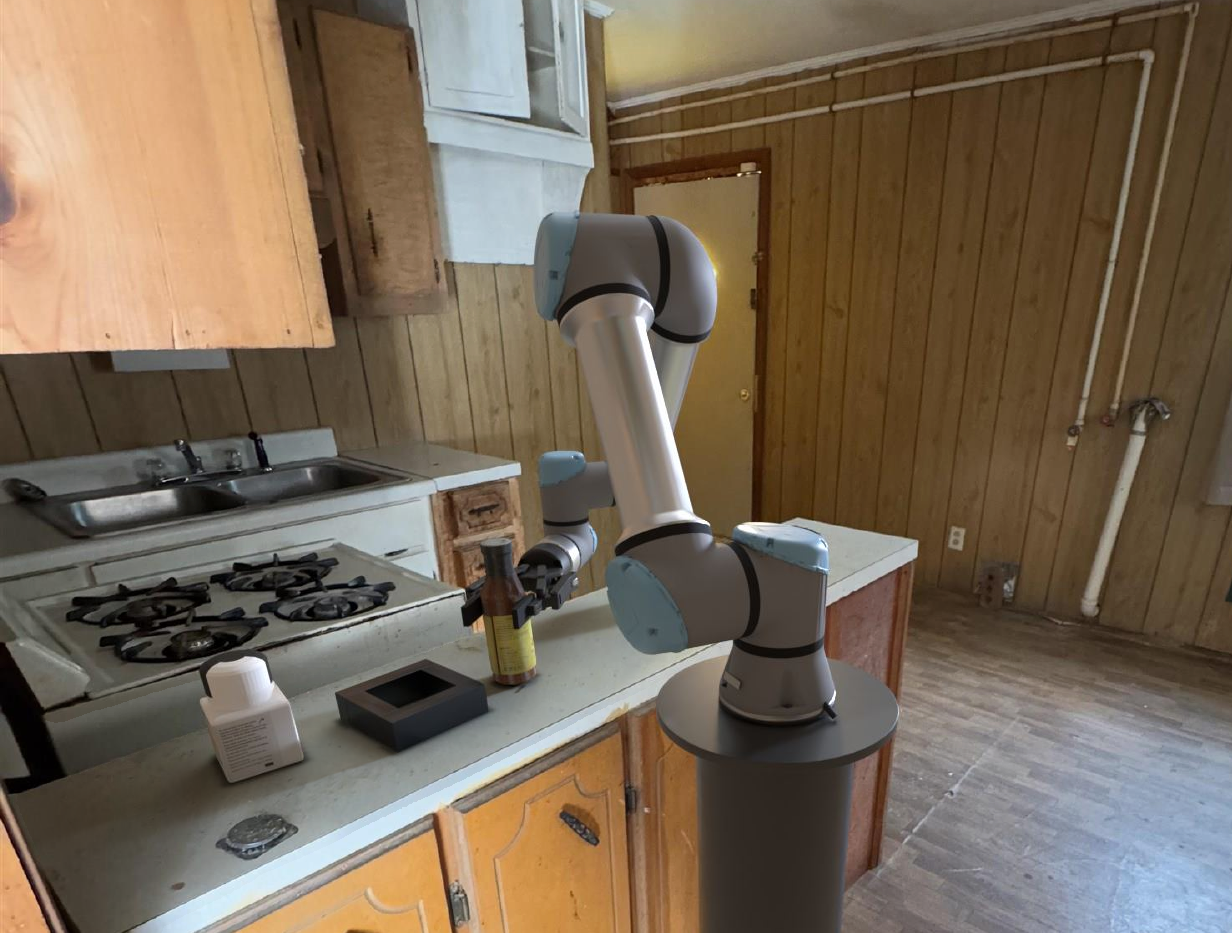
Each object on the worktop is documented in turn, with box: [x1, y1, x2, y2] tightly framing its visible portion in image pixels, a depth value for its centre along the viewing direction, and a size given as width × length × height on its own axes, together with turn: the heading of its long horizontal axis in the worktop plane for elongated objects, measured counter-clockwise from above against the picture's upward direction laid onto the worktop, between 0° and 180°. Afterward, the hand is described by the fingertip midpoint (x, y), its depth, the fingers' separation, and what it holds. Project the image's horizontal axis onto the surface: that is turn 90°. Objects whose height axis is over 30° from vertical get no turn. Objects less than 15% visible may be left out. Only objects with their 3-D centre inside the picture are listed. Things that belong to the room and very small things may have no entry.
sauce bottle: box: [479, 537, 537, 686], centre depth 106 cm, size 6×6×20 cm
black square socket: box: [334, 658, 489, 753], centre depth 99 cm, size 13×13×4 cm
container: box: [198, 649, 305, 784], centre depth 88 cm, size 8×8×13 cm
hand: (490, 618), depth 101 cm, fingers closed on sauce bottle, 6 cm apart
